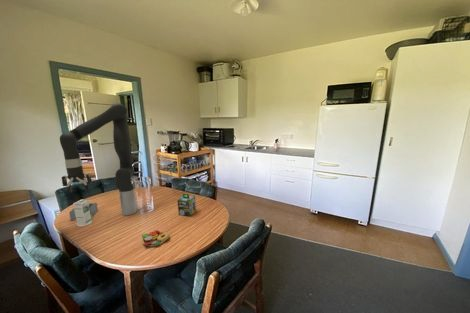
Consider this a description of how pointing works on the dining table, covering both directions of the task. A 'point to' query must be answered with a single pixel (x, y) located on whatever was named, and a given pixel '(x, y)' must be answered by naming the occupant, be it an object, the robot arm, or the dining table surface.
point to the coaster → (85, 225)
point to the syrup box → (82, 211)
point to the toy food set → (154, 238)
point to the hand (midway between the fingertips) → (79, 191)
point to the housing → (92, 206)
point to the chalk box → (186, 205)
